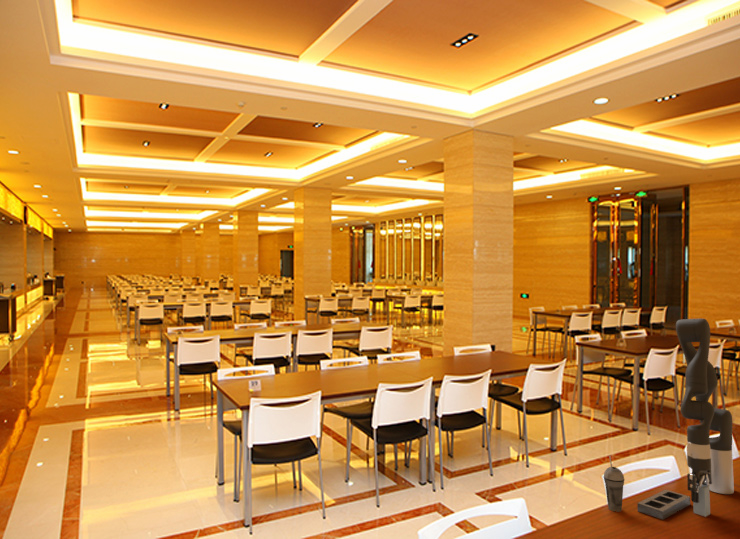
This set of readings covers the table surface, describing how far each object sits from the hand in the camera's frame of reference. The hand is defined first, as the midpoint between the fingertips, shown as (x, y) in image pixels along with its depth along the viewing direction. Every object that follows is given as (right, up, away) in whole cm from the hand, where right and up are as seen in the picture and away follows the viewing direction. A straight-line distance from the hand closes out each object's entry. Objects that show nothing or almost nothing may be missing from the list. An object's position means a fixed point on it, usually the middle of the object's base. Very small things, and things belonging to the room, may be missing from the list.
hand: (700, 499), depth 188 cm
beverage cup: (-30, -6, +4) cm, 30 cm away
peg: (0, -5, 0) cm, 5 cm away
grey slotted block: (-11, -5, +5) cm, 13 cm away
